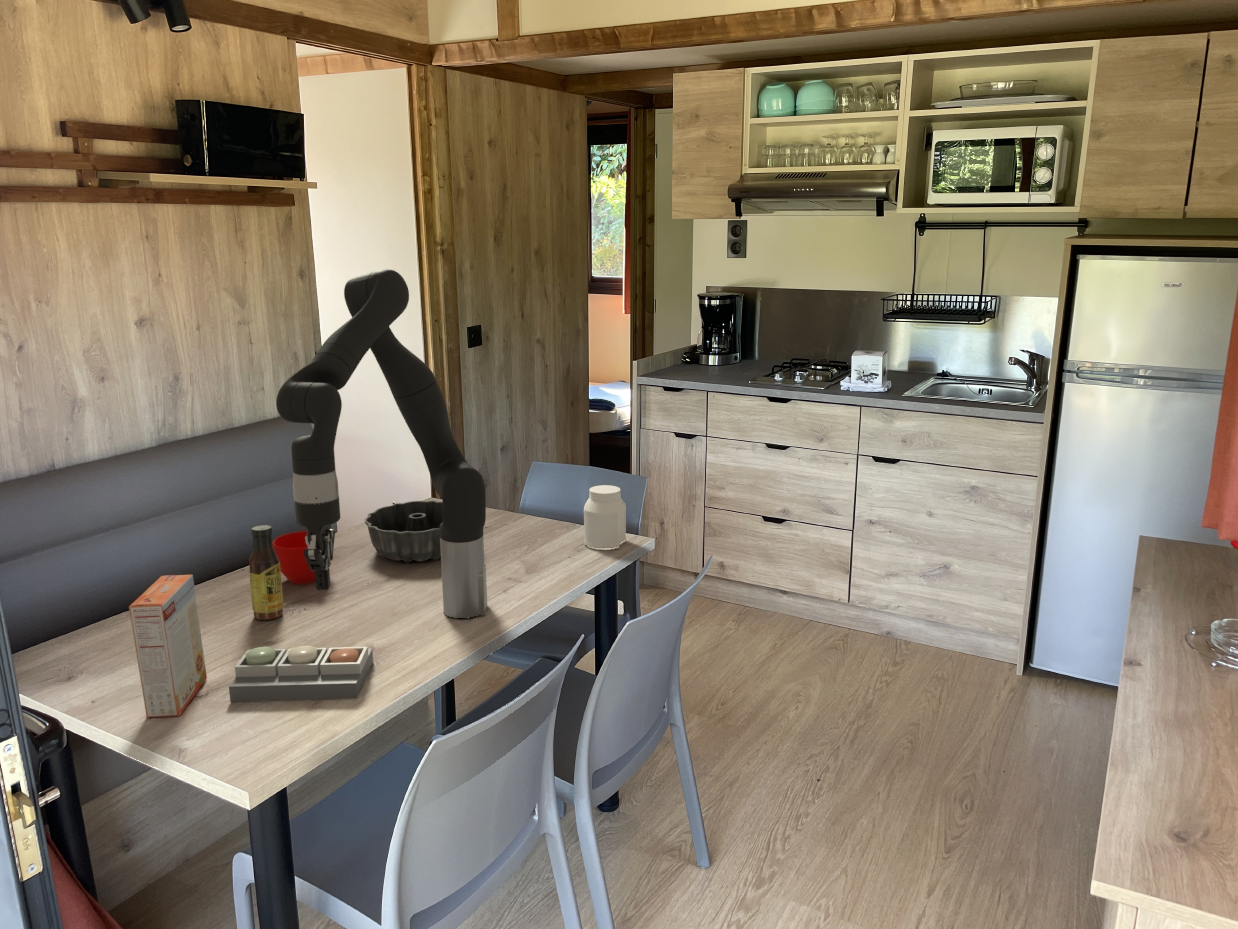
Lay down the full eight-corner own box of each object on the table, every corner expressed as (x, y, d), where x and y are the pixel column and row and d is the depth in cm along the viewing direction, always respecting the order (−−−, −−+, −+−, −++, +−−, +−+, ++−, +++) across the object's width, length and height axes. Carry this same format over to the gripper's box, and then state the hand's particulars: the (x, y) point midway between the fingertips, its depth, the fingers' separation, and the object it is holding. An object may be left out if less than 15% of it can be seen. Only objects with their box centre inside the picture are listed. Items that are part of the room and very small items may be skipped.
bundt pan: (423, 576, 220) (421, 537, 218) (344, 558, 233) (341, 520, 231) (491, 545, 242) (489, 509, 240) (416, 529, 255) (414, 495, 253)
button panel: (373, 662, 176) (371, 638, 175) (357, 698, 162) (355, 672, 161) (256, 665, 175) (254, 641, 173) (230, 702, 161) (227, 676, 160)
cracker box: (174, 680, 169) (160, 574, 164) (208, 679, 169) (195, 573, 164) (142, 719, 155) (126, 604, 150) (179, 717, 156) (164, 603, 151)
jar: (596, 535, 250) (595, 482, 246) (629, 538, 247) (629, 485, 243) (580, 548, 240) (579, 493, 236) (614, 552, 236) (614, 496, 233)
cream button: (320, 652, 170) (319, 645, 169) (313, 665, 165) (312, 657, 165) (293, 653, 170) (292, 645, 169) (285, 665, 165) (284, 658, 164)
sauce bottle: (273, 622, 194) (265, 533, 189) (247, 620, 195) (237, 531, 190) (290, 610, 200) (282, 524, 195) (264, 608, 201) (256, 522, 196)
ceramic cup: (296, 598, 207) (292, 556, 204) (267, 578, 219) (263, 538, 217) (350, 584, 215) (346, 544, 213) (319, 565, 227) (316, 527, 225)
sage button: (279, 653, 169) (278, 646, 169) (270, 666, 165) (270, 658, 164) (251, 654, 169) (250, 647, 169) (242, 666, 164) (241, 659, 164)
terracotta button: (361, 655, 170) (361, 647, 170) (355, 667, 166) (355, 660, 165) (334, 656, 170) (333, 648, 170) (327, 668, 165) (326, 660, 165)
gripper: (329, 506, 154) (336, 602, 158) (346, 485, 166) (352, 575, 170) (283, 506, 153) (291, 603, 157) (304, 486, 166) (311, 576, 170)
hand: (323, 588), depth 164 cm, fingers closed
